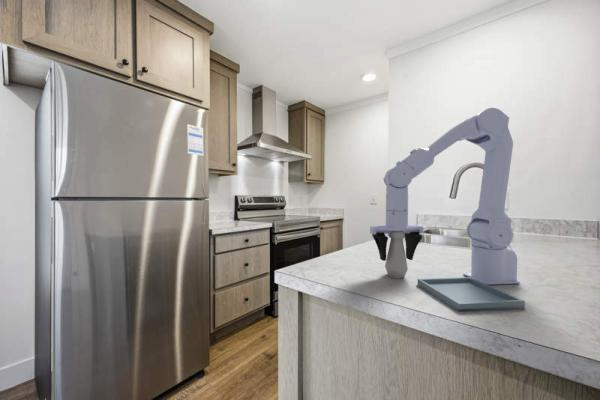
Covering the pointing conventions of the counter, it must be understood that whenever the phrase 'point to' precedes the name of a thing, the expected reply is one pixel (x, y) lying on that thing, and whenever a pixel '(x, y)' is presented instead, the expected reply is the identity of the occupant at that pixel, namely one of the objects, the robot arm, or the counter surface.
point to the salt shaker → (396, 255)
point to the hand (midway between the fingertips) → (396, 259)
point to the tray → (470, 294)
